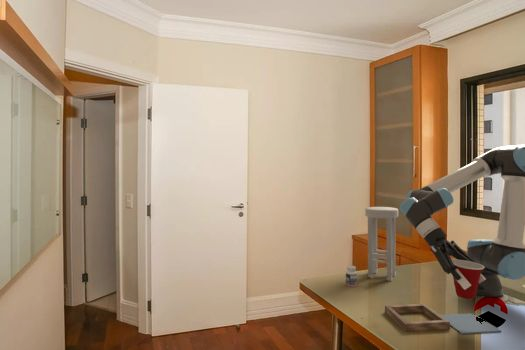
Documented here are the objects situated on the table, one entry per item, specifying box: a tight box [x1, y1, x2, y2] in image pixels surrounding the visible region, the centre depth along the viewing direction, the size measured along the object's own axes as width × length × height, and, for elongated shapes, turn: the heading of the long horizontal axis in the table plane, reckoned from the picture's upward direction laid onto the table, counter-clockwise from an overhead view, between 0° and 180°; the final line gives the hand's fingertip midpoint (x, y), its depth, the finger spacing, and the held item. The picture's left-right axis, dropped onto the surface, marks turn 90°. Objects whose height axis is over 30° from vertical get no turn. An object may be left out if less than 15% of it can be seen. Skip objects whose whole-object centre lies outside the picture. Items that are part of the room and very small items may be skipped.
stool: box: [364, 206, 399, 282], centre depth 179 cm, size 16×16×35 cm
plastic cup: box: [451, 258, 485, 300], centre depth 124 cm, size 11×11×12 cm
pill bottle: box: [345, 265, 358, 288], centre depth 166 cm, size 5×5×9 cm
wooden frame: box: [384, 303, 451, 332], centre depth 127 cm, size 16×16×2 cm
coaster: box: [440, 312, 502, 335], centre depth 124 cm, size 14×14×1 cm
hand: (475, 284), depth 121 cm, fingers closed on plastic cup, 10 cm apart
